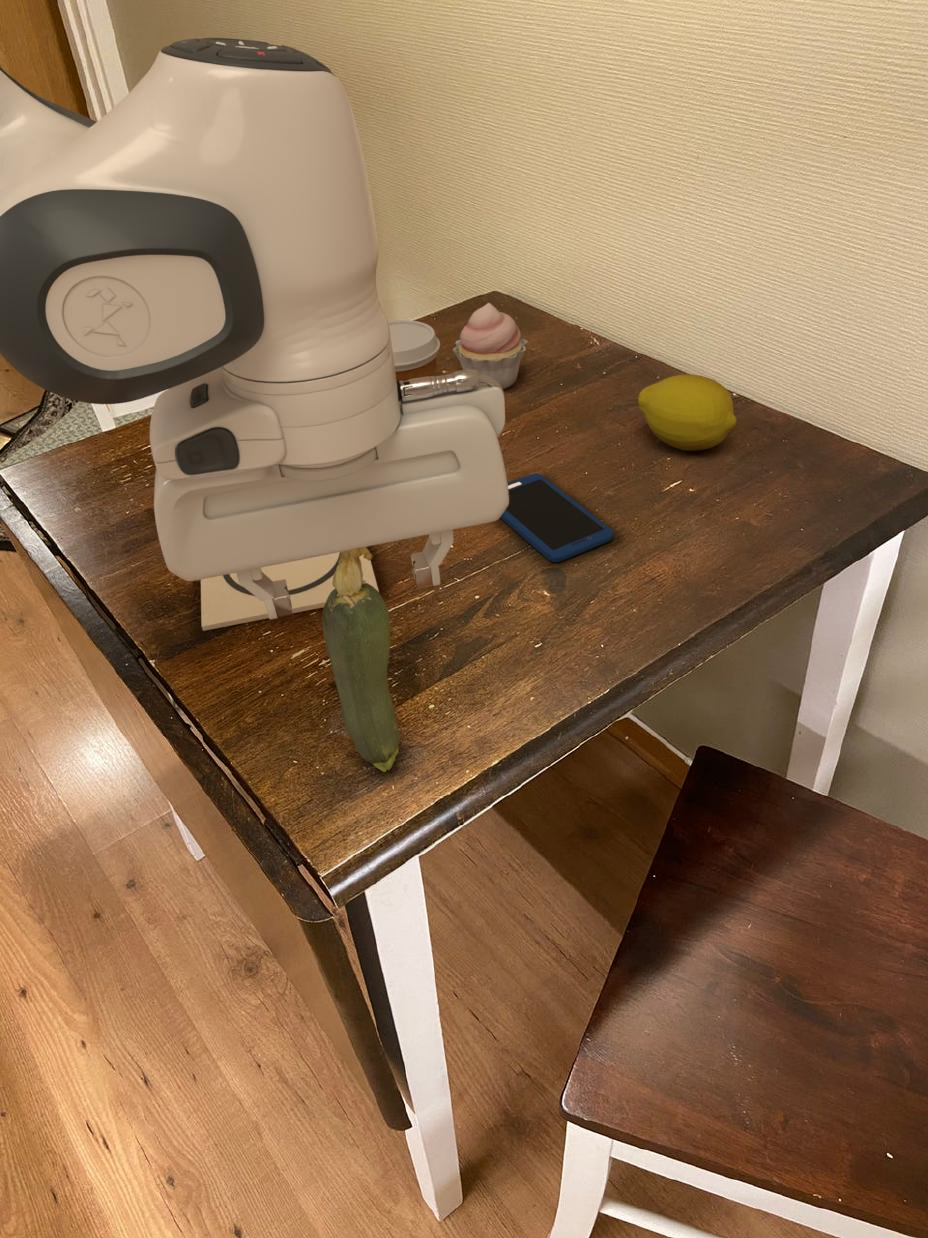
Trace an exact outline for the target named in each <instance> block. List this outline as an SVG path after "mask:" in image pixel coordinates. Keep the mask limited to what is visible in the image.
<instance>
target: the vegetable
mask: <svg viewBox="0 0 928 1238" xmlns="http://www.w3.org/2000/svg"><path fill="white" fill-rule="evenodd" d="M340 553H341V554H342V555H339V556H340V560H339V565H338V566H337V569H336V571H335V573H334V576H333V581H332V585H333V587H334V588H335V589H334V590H332V592H331V593H330V594H329V596H328V598H327V601H326V603H325V605H324V607H322V608H323V609H322V614H321V619H322V620H321V622H322V631H323V632H322V633H323V637H324V642H325V643H324V644H325V648H326V651H327V657H328V660H329V662H330V665H331V671H332V675H333V679H334V683H335V686H336V690H337V694H338V698H339V703H340V707H341V712H342V717H343V721H344V725H345V727H346V730H347V733H348V735H349V737H350V739H351V741H352V743H353V745H354V747H355V749H356V750H357V752H358V754H359V756H360V757H361V758H362V759H363V760H364V761H365V762H367V763H370V764H373V766H374V767H375V768H377V769H379V771H381V772H383V773H387V770H388V771H390V770H391V769H392V767H393V765H394V762H395V761H396V757H397V755H398V754H399V744H400V741H401V734H400V730H399V725H398V722H397V718H396V717H397V716H396V712H395V707H394V703H393V698H392V695H391V693H390V687H389V680H388V679H389V678H388V665H389V661H390V660H389V659H390V654H391V653H390V652H391V617H390V612H389V608H388V606H387V604H386V602H385V600H384V598H383V597H382V595H381V594H380V591H379V592H378V591H377V590H376V589H375V588H374V587H373V586H371V585H370V584H368V583H366V582H365V580H363V581H362V579H363V572H362V566H361V561H360V558H359V557H360V556H362V554H364V556H363V557H364V559H367V560H372V559H373V554H372V553H371V552H370V550H369V548H368V547H363V548H358V549H353V550H348V551H342V552H340Z"/></svg>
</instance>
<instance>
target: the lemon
mask: <svg viewBox="0 0 928 1238" xmlns="http://www.w3.org/2000/svg"><path fill="white" fill-rule="evenodd" d="M637 404H638V409H639V411H640V412H641V413H642V414H643V415H644V418H645V420H646V423H647V425H648V427H649V429H650V430H651V432H652V433H653V435H654V436H656V438H658V440H660V441H661V442H663V443H665V444H667V445H668V446H671V447H672V448H675V449H677V450H680V451H689V452H691V451H692V452H693V451H702V450H708V449H712V448H714V447H716V446H718V445H720V444H721V443H722V442H723V441H724V440H725V439H726V438H727V436H728V434H729V433H730V432H731V431H732V430H733V429H735V427H737V423H738V421H737V417H736V415H735V414H734V401H733V398H732V396H731V394H730V393H729V391H728V390H727V388H725V386H723V385H722V384H721V383H720V382H719V381H717V380H715V379H712V378H710V377H706V376H704V375H700V374H676V375H672V376H669V377H665V378H664V379H662V380H660V381H658V382H655V383H653V384H650V385H647V386H646V387H644V388H642V390H641V391H640V392H639V394H638V398H637Z"/></svg>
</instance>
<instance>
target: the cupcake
mask: <svg viewBox="0 0 928 1238" xmlns="http://www.w3.org/2000/svg"><path fill="white" fill-rule="evenodd" d="M467 321H468V322H467V324H466V325H464V327H463V328H462V329H461V332H460V335H459V339H458V340H456V341H455V342H454V343H455V345H456V346H455V347H453V348H452V351H453V353H454V354H455V356H456V358H457V359H458V362H460V366H461V368H462V370H476V372H477V374H478V375H484V376H488V377H491V378H492V379H494V380H495V381H497V382H498V383H499V385H500V386H501V387H502V389H503V390H506V389H509V388H511V387H512V386H513V385H514V384H515V383H516V381H517V379H518V375H519V370H520V365H521V361H522V359H523V356H524V354H525V352H526V350H527V348H526V346H527V345H528V342H529V341H528V340H527V339H523V338H522V333H521V331H520V328H519V326H518V325H517V323H516V321H515V320H514V319H513V318H512V316H510V314H507V313H504V312H500V311H499V310H498V309H497V308H496V307H495V306H494V305H493V304H492V303H490V302H487V303H486V304H485V305H484V306H482V307H479V308H477V309H476V310H474V312H472V314H471V316H470V317H469V319H468V320H467ZM483 384H485V383H480V382H479V385H483Z"/></svg>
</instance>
